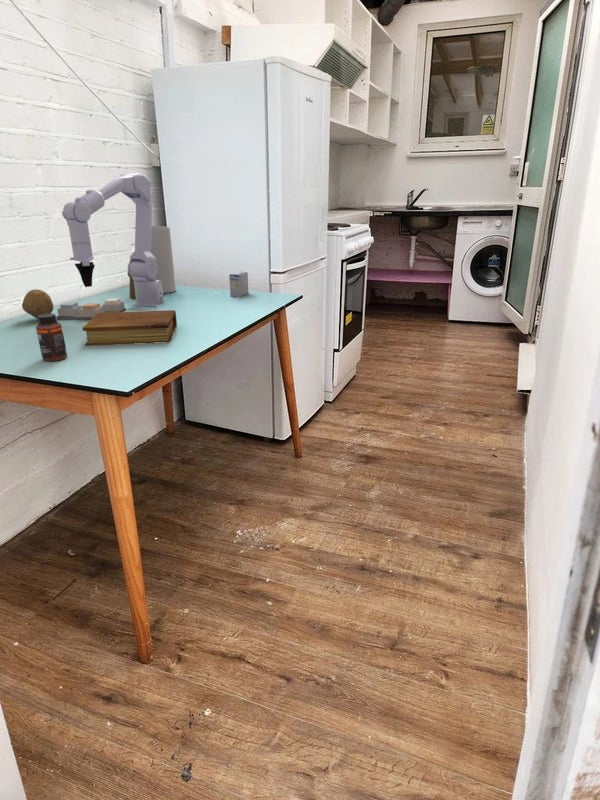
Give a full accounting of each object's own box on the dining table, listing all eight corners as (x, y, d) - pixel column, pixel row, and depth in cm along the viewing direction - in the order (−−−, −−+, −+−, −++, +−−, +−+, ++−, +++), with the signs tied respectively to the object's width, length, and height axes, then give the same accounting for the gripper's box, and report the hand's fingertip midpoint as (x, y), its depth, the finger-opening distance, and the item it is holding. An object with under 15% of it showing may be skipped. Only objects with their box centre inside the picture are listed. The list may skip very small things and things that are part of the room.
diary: (177, 327, 167) (175, 309, 165) (170, 344, 150) (168, 324, 148) (101, 329, 165) (98, 311, 163) (85, 347, 148) (82, 326, 146)
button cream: (121, 305, 187) (120, 298, 186) (116, 307, 183) (115, 300, 182) (110, 305, 187) (109, 298, 186) (105, 307, 183) (104, 300, 182)
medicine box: (238, 293, 215) (237, 271, 212) (248, 293, 214) (247, 271, 211) (230, 296, 208) (228, 274, 205) (240, 297, 207) (239, 274, 204)
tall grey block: (172, 294, 214) (165, 228, 204) (140, 294, 214) (132, 229, 204) (178, 288, 225) (172, 226, 216) (148, 289, 225) (141, 226, 216)
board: (126, 310, 188) (124, 301, 187) (109, 319, 175) (108, 310, 174) (76, 309, 190) (75, 300, 188) (56, 319, 177) (55, 309, 176)
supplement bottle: (71, 355, 140) (64, 312, 136) (61, 362, 134) (53, 317, 130) (49, 355, 140) (40, 312, 136) (38, 362, 135) (28, 317, 130)
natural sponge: (19, 323, 172) (13, 292, 168) (33, 316, 180) (27, 286, 177) (47, 323, 172) (41, 292, 168) (60, 316, 180) (54, 286, 176)
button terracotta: (100, 310, 180) (99, 303, 179) (95, 313, 176) (94, 305, 175) (88, 310, 180) (87, 303, 179) (83, 313, 176) (82, 305, 175)
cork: (143, 299, 206) (139, 269, 202) (127, 299, 206) (123, 269, 202) (147, 295, 212) (144, 267, 207) (132, 296, 212) (128, 267, 207)
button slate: (78, 309, 181) (77, 302, 180) (73, 312, 177) (71, 305, 177) (67, 309, 181) (66, 302, 181) (61, 312, 178) (60, 305, 177)
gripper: (66, 241, 174) (73, 283, 179) (68, 245, 162) (76, 290, 167) (89, 240, 177) (95, 281, 182) (93, 244, 165) (100, 288, 170)
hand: (87, 285), depth 175 cm, fingers closed
